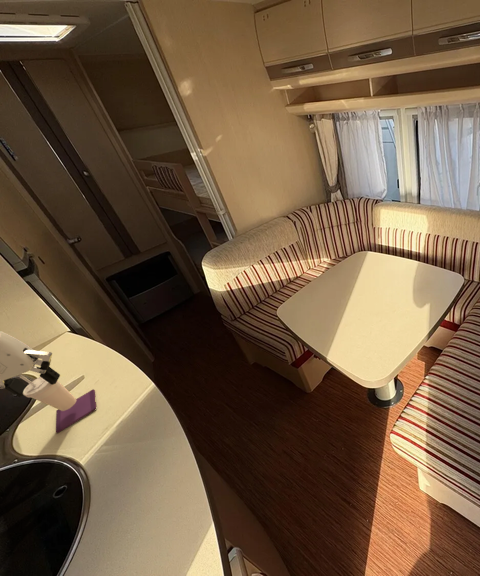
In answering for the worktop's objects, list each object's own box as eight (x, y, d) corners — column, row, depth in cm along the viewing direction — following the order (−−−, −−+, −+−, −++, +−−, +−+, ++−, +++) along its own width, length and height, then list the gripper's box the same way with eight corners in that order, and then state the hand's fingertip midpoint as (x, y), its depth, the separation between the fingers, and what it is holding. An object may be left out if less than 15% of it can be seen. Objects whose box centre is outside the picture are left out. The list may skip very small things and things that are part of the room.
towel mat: (57, 433, 81) (55, 432, 80) (58, 411, 87) (56, 410, 86) (96, 409, 85) (95, 408, 84) (94, 390, 91) (93, 389, 90)
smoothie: (49, 412, 83) (0, 382, 74) (74, 391, 87) (31, 361, 79) (62, 418, 80) (13, 387, 72) (87, 396, 85) (44, 365, 76)
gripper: (-92, 367, 63) (-8, 413, 74) (7, 334, 66) (73, 382, 77) (-65, 343, 68) (9, 389, 79) (24, 313, 72) (83, 361, 83)
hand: (40, 385), depth 78 cm, fingers closed on smoothie, 6 cm apart
